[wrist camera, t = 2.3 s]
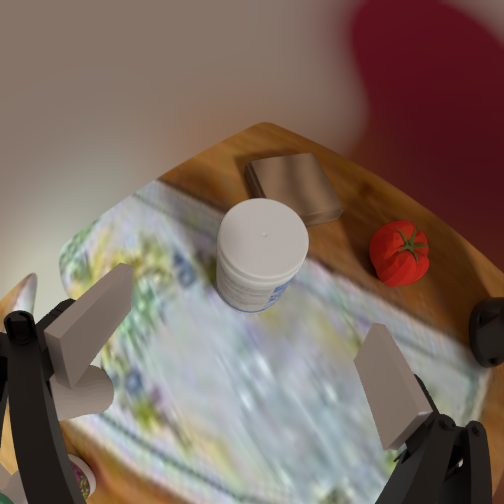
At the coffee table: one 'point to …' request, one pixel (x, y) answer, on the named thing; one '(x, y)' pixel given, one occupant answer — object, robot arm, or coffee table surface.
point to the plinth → (295, 186)
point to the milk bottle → (13, 496)
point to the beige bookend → (83, 395)
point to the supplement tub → (258, 253)
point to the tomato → (399, 253)
